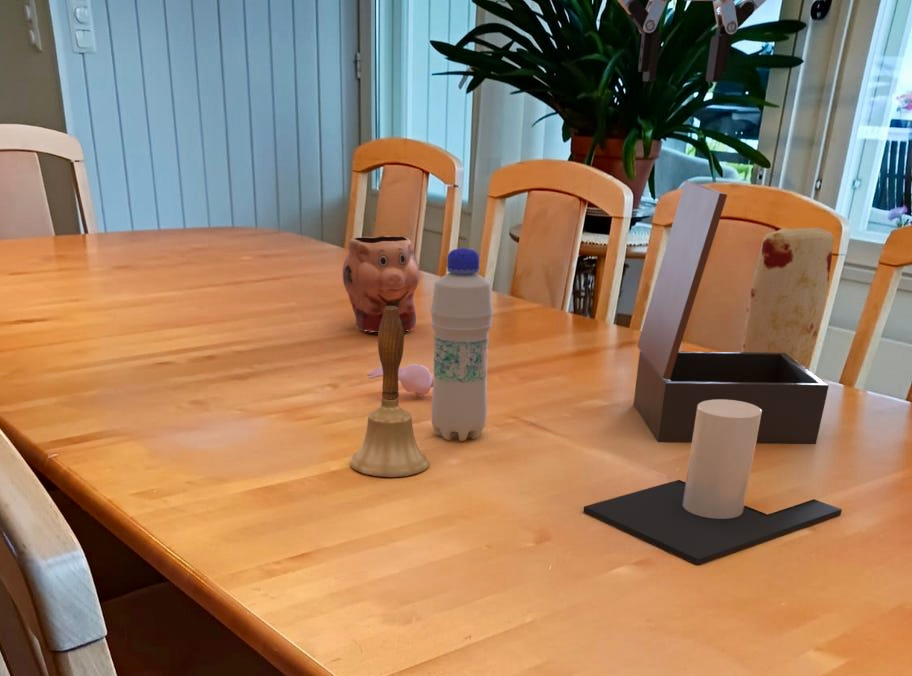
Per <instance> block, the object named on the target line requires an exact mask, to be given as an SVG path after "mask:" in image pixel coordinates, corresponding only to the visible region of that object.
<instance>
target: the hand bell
mask: <svg viewBox="0 0 912 676" xmlns="http://www.w3.org/2000/svg"><path fill="white" fill-rule="evenodd" d="M404 333H405V332H403V327H402V323H401V320H400V317H399V312H398V307H396V306H386V307H385V309H384V314H383V317H382V320H381V323H380V327H379V332H378V333H377V350H378V356H379V360H380V364H381V367H382V369H383V376H382V386H381V387H382V389H381V390H382V392H381V402H380V403H381V404H380V406H379V407H377V408H375V409H373V410H371V411H370V412H369V413H368V416H367V424H366V429H365V435H364V439H363V441H362V443H361V446H360V447H359V449H358V450H357V451H356V452H355V453H354V454H353V455H352V456H351V458H350V461H349V464H350V466H351V468H352V469H353V470H355V471H356V472H359V473H361V474H365V475H368V476H374V477H381V478H400V477H408V476H413V475H417V474H421V473H422V472H424V471H426V470H427V469H428V468H429V466H430V461H429V459H428V457H427V456H426V454H425V453H424V452H422V451H421V449H420V447H419V445H418V443H417V441H416V438H415V433H414V428H413V427H414V426H413V420H412V419H413V418H412V414H411V413H410V412H409V411H408V410H405V409H404V408H402V407H400V405H399V396H400V395H399V394H400V393H399V380H398V370H399V368H400V365H401V363H402V358H403V355H404V348H405V334H404Z"/></svg>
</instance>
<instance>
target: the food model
mask: <svg viewBox="0 0 912 676" xmlns="http://www.w3.org/2000/svg"><path fill="white" fill-rule="evenodd" d="M833 251H834V235H833V232H830V231H827V230H826V229H823V228H821V227H820V228H819V227H802V228H801V227H800V228H793V229H792V228H791V229H789V228H786V227H783V228H781V229H778V230H776V231H770V232H768V233H766V235H765V236H764V237H763V239H762V242H761V246H760V250H759V253H758V259H757V263H756V267H755V271H754V275H753V279H752V284H751V289H750V293H749V298H748V303H747V309H746V315H745V322H744V327H743V332H742V338H741V340H742V341H741V349H740V352H761V353H786V354H787V355H789V356H790V357H791V358H793V359H794V360H795V361H797V362H798V363H799V364H801V365H802V366H803V367H805V368H806V369H807V366H808V364H809V361H810V359H811V356H812V352H813V349H814V347H815V344H816V340H817V336H818V333H819V330H820V326H821V322H822V319H823V314H824V309H825V305H826V299H827V294H828V289H829V281H830V273H831V266H832V261H833Z"/></svg>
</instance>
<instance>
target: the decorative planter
mask: <svg viewBox="0 0 912 676" xmlns="http://www.w3.org/2000/svg"><path fill="white" fill-rule="evenodd" d="M419 265H420V264H419V263H418V260H417V257H416V254H415V251H414V248H413V243H412V241H411V240H410V239H409V238H408V237H404V236H400V235H399V236H398V235H380V236H360V237H352V238H350V240H349V243H348V253H347V255H346V257H345V259H344V263H343V266H342V281H343V286H344V289H345V291H346V293H347V296H348V299H349V302H350V305H351V309H352V311H353V314H354V316H355V317H354V318H355V323H356V326H358V327H359V328H361V329H362V330H361V329H360V330H361V331H363V330H367V331H374V332H379V327H380V323H381V320H382V317H383V314H384V309H385V307H386V306H396V307H398V312H399V317H400V320H401V323H402V327H403V331H407V330H411V329H413V328H414V329H415V327H416V322H417V314H416V305H415V293H416V291H417V289H418V288H419V285H420V280H421V274H420V273H421V272H420V266H419ZM358 327H357V328H358ZM359 328H358V329H359ZM414 329H413V330H414Z"/></svg>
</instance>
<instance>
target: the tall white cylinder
mask: <svg viewBox="0 0 912 676" xmlns="http://www.w3.org/2000/svg"><path fill="white" fill-rule="evenodd" d="M761 415H762V410H761V409H760V408H759V407H757V406H755V405H753V404H750V403H746V402H742V401H735V400H723V399H717V400H707V401H703V402H700V403H699V404H698V405H697V411H696V417H695V424H694V430H693V437H692V443H690V449H689V450H690V451H689V458H688V465H687V471H686V476H685V482H686V483H685V490H684V496H683V503H682V505H683V507H684V509H685V510H687V511H688V512H690V513H692V514H695V515H698V516H701V517H706V518H713V519H729V518H735V517H738V516H740V515H741V514H742V513H743V511H744V506H746V499H747V495H748V489H749V484H750V479H751V473H752V468H753V463H754V457H755V452H756V447H757V444H756V442H757V436H758V431H759V426H760V420H761Z"/></svg>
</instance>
